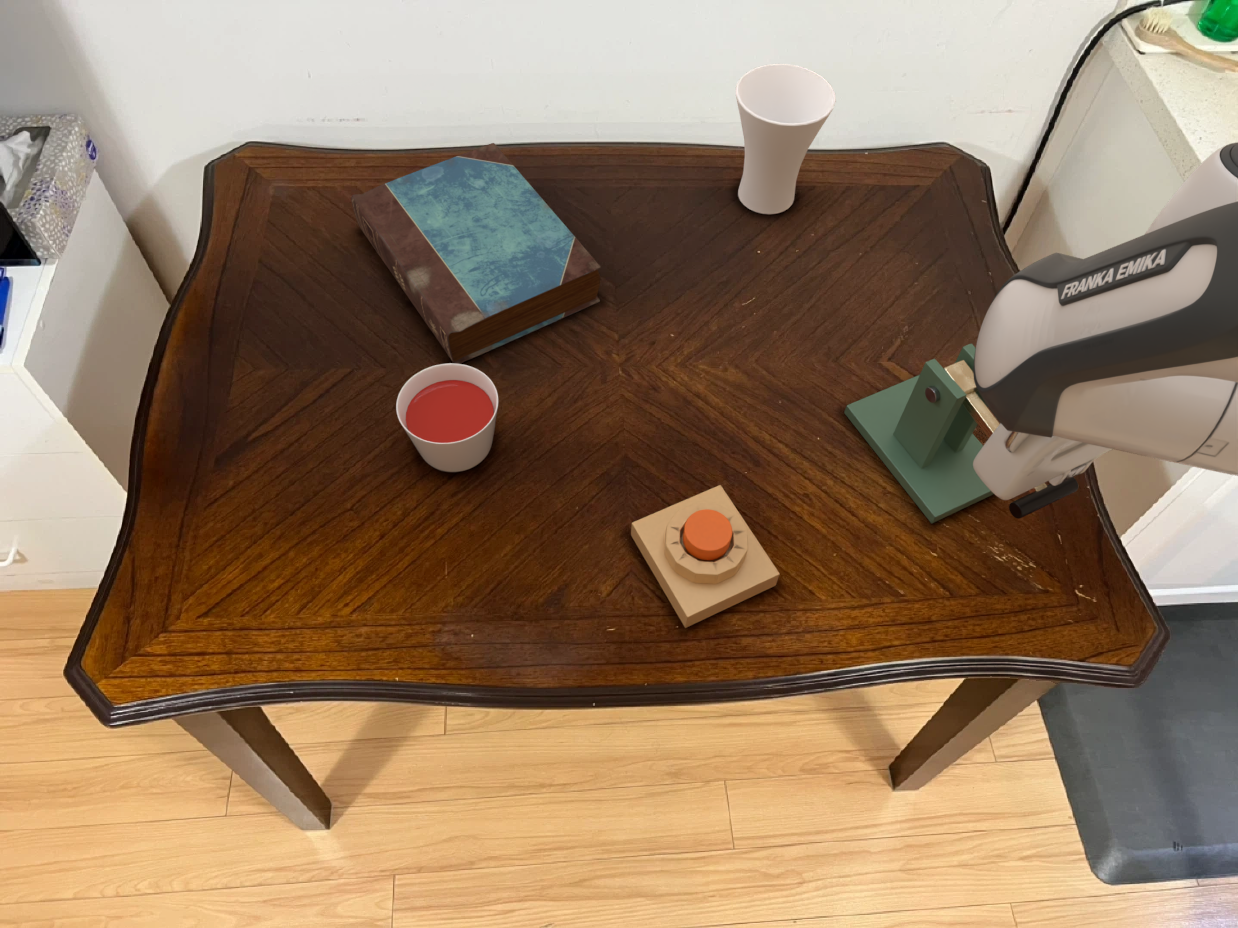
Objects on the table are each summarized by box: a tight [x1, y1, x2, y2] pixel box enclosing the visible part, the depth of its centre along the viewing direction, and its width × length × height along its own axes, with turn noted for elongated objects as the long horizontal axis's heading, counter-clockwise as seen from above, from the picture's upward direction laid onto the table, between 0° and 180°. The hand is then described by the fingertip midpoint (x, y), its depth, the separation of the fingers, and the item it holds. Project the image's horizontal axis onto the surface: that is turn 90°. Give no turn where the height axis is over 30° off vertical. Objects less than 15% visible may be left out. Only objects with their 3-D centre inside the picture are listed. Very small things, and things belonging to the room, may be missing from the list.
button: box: [683, 509, 732, 560], centre depth 80 cm, size 4×4×2 cm
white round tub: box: [395, 362, 499, 473], centre depth 87 cm, size 9×9×6 cm
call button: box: [630, 484, 781, 629], centre depth 82 cm, size 10×9×4 cm
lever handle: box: [943, 360, 1079, 520], centre depth 80 cm, size 14×6×2 cm, turn 27°
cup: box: [735, 63, 837, 215], centre depth 104 cm, size 10×10×14 cm
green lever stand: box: [843, 343, 995, 524], centre depth 86 cm, size 14×9×12 cm, turn 27°
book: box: [350, 142, 602, 364], centre depth 101 cm, size 23×18×5 cm
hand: (1060, 472), depth 75 cm, fingers closed
